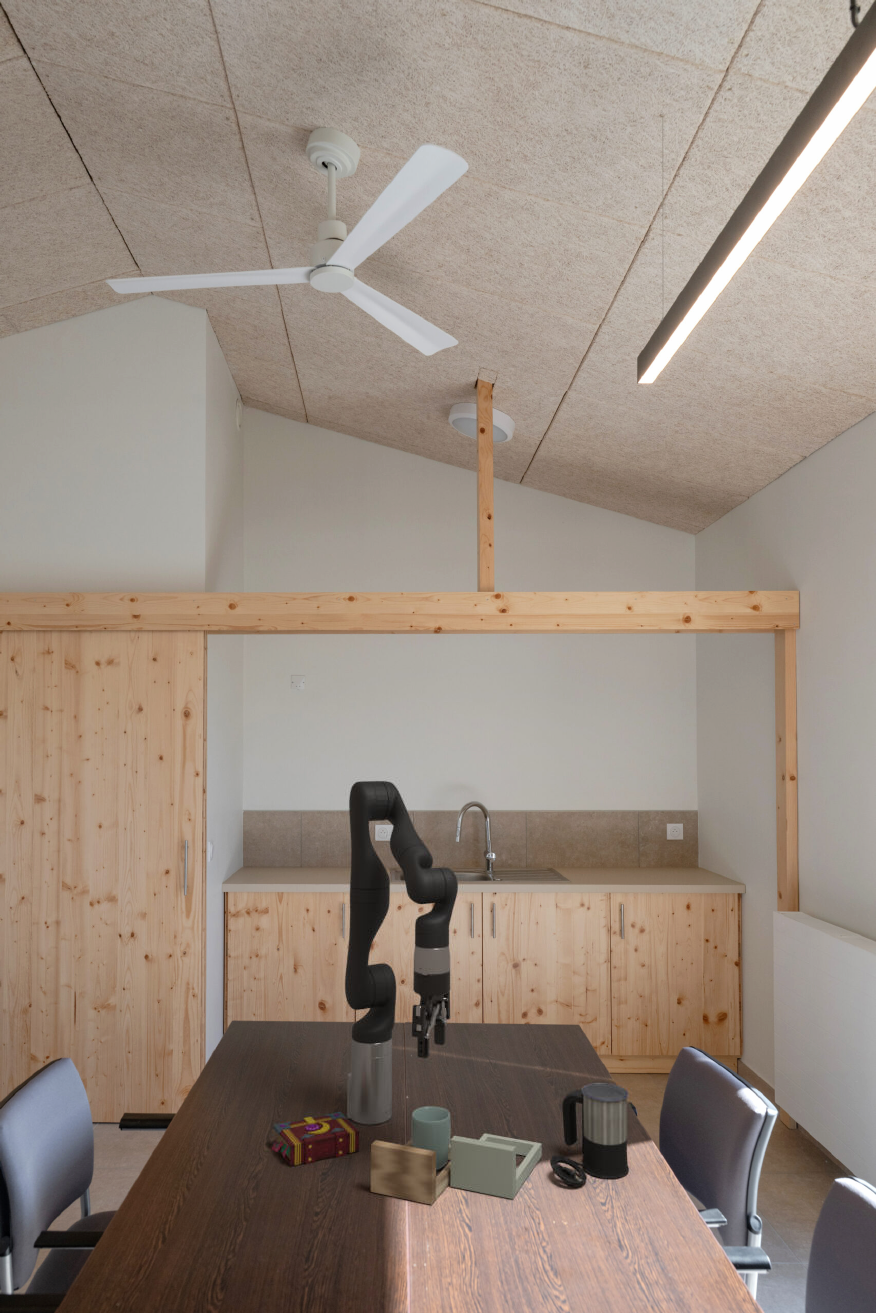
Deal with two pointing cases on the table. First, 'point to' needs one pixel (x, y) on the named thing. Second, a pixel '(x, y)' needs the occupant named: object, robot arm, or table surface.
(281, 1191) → the table surface
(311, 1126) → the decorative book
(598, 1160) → the milk frother
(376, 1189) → the wooden drawer
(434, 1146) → the cup
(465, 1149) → the frame
